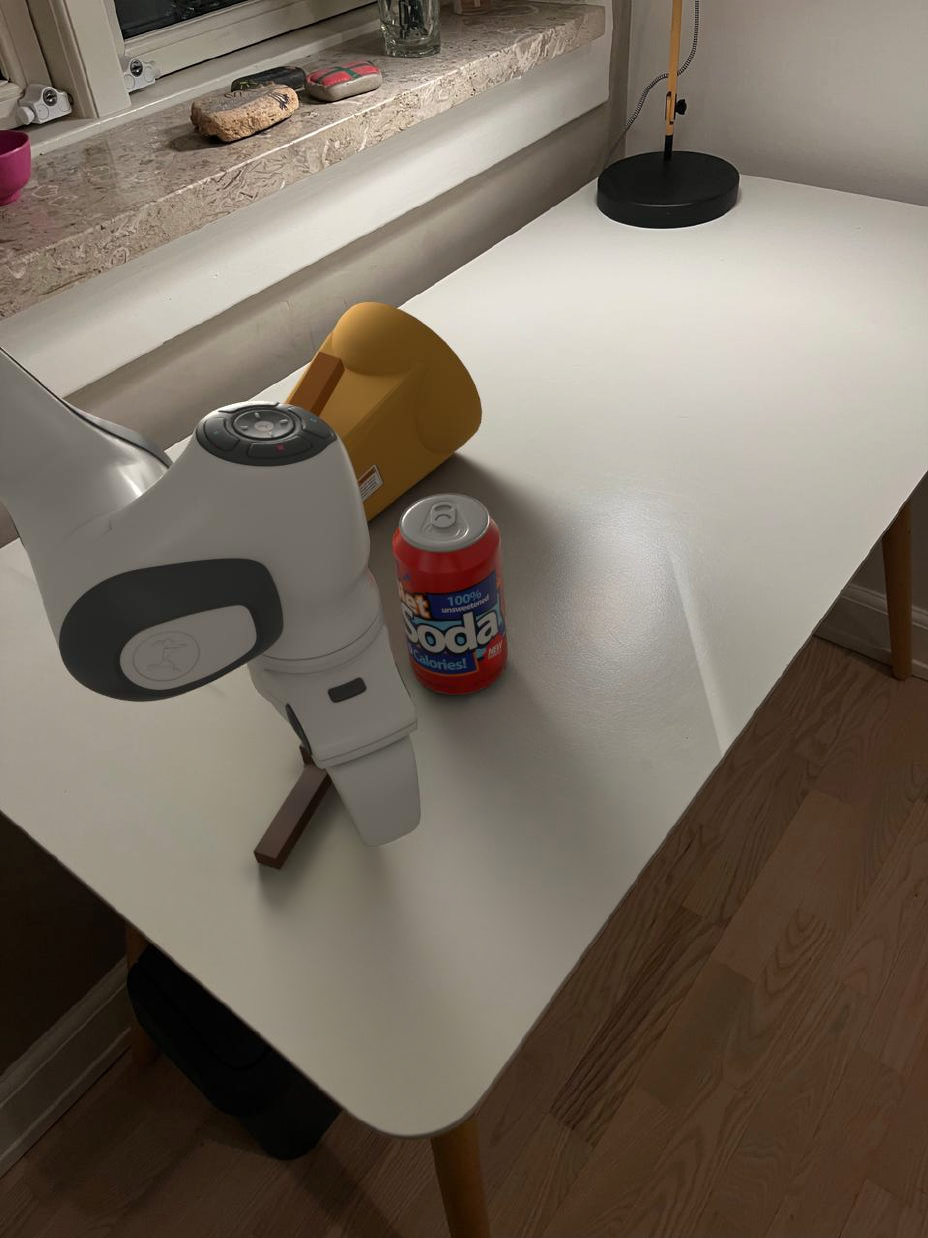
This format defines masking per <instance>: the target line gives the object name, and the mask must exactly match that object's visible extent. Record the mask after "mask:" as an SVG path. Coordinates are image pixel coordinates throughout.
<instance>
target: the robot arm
mask: <svg viewBox="0 0 928 1238" xmlns="http://www.w3.org/2000/svg"><path fill="white" fill-rule="evenodd" d="M0 501H1V502H2V504H3V505H4V507H5V509H6V511H7V513H8V515H9V517H10V519H11V522H12V524H13V526H14V529H15V531H16V533H17V535H18V537H19V539H20V542H21V545H22V546H23V548H24V550H25V552H26V554H27V557H28V560H29V563H30V566H31V568H32V572H33V576H34V578H35V581H36V584H37V587H38V590H39V594H40V596H41V599H42V605H43V608H44V611H45V614H46V617H47V621H48V623H49V625H50V629H51V631H52V634H53V637H54V639H55V643H56V645H57V648H58V650H59V654H60V655H59V656H60V657H61V660H62V663H63V665H64V667H65V668H66V670H67V671H68V673H69V674H70V675H71V676H72V677H73V679H74V680H75V681H77V682H78V683H79V684H81V685H82V686H83V687H84V688H86V689H88V690H90V691H91V692H93V693H96V694H99V695H101V696H104V697H106V698H107V697H108V698H110V699H114V700H119V701H124V702H125V701H126V702H133V703H134V702H135V703H147V702H157V701H164V700H167V699H173V698H176V697H179V696H182V695H185V694H188V693H190V692H192V691H195V690H197V689H200V688H202V687H204V686H206V685H208V684H211V683H213V682H215V681H216V680H219V679H221V678H223V677H224V676H226V675H229V674H230V673H231V672H233V671H236V669H237V670H238V669H239V668H241V667H242V666H244V665H247V669H248V672H249V675H250V678H251V681H252V684H253V686H254V688H255V690H256V691H257V692H258V694H259V695H260V696H261V697H262V698H263V699H265V700H266V701H267V702H268V703H270V704H271V705H272V707H273V708H274V709H275V710H276V711H277V713H278V714H279V715H280V716H281V717H282V718H283V719H285V721H286V722H287V723H288V724H289V725H290V726H291V728H292V730H293V732H294V733H295V734H296V735H297V737H298V739H299V740H300V741H301V742H302V743H303V745H304V746H305V748H306V750H307V752H308V754H309V755H311V756H312V758H313V760H314V762H315V764H316V765H317V767H318V768H320V769H326V770H327V772H328V774H329V776H330V777H331V779H332V781H333V782H332V783H333V785H334V787H335V790H336V791H337V793H338V795H339V797H340V799H341V801H342V803H343V805H344V807H345V809H346V811H347V814H348V815H349V818H350V820H351V822H352V825H353V826H354V828H355V830H356V833H357V835H358V836H359V838H360V840H361V841H362V843H363V844H364V845H365V846H366V847H368V848H377V847H381V846H384V845H387V844H389V843H392V842H394V841H396V840H398V839H401V838H403V837H405V836H407V835H408V834H410V833H412V832H413V831H415V829H417V828H418V826H419V825H420V822H421V818H422V816H421V815H422V812H421V795H420V785H419V776H418V775H419V773H418V766H417V760H416V754H415V751H414V747H413V744H412V743H413V742H412V741H411V737H410V734H412V733H413V732H415V731H417V730H418V727H419V722H418V721H419V720H418V715H417V710H416V708H415V704H414V703H413V700H412V698H411V694H410V692H409V690H408V688H407V686H406V683H405V681H404V679H403V677H402V674H401V672H400V669H399V667H398V665H397V662H396V661H395V659H394V656H393V651H392V650H393V649H392V646H391V639H390V633H389V628H388V627H387V625H386V622H385V617H384V611H383V606H382V601H381V595H380V590H379V586H378V584H377V582H376V579H375V577H374V575H373V574H372V572H371V571H370V569H369V559H370V555H371V537H370V532H369V527H368V522H367V520H366V515H365V511H364V506H363V502H362V498H361V494H360V490H359V486H358V482H357V479H356V475H355V472H354V469H353V466H352V463H351V460H350V458H349V455H348V452H347V450H346V448H345V446H344V444H343V442H342V440H341V439H340V437H339V436H338V434H337V433H336V432H335V431H334V430H333V429H332V428H331V427H330V426H329V425H328V424H327V423H326V422H325V421H324V420H322V419H321V418H319V417H318V416H316V415H315V414H313V413H311V412H309V411H307V410H305V409H303V408H301V407H297V406H293V405H289V404H284V402H279V401H276V400H275V401H273V400H250V401H249V400H248V401H242V402H236V403H232V404H229V405H225V406H223V407H219V408H217V409H215V410H213V411H211V412H210V413H208V414H206V415H205V416H204V417H202V418H201V419H200V421H199V422H198V423H197V424H196V426H195V427H194V430H193V432H192V435H191V437H190V439H189V441H188V443H187V444H186V446H185V448H184V449H183V451H182V452H181V453H180V455H178V457H177V458H176V460H175V461H173V459H172V458H171V457H170V456H169V455H168V454H167V452H165V450H163V449H162V448H161V446H159V445H158V444H157V443H155V442H154V441H152V440H151V439H149V438H148V437H146V436H145V435H143V434H141V433H139V432H137V431H134V430H132V429H129V428H128V427H124V426H122V425H120V424H117V423H114V422H111V421H108V420H106V419H103V418H100V417H97V416H95V415H93V414H90V413H88V412H86V411H83V410H81V409H80V408H78V407H76V406H74V405H72V404H71V403H69V402H68V401H66V400H64V398H62V397H60V396H59V395H58V394H57V393H56V392H54V391H53V390H51V388H49V387H48V386H47V385H46V384H45V383H43V381H41V380H40V379H39V378H38V377H37V376H36V375H34V374H33V373H32V372H31V371H29V369H28V368H26V367H25V366H24V365H23V363H22V364H21V363H20V362H19V361H18V360H17V359H16V358H15V357H14V356H12V355H11V354H10V353H9V352H8V350H7V351H6V349H4V348H3V347H2V346H1V345H0ZM301 742H300V743H301Z"/></svg>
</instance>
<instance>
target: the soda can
mask: <svg viewBox="0 0 928 1238" xmlns="http://www.w3.org/2000/svg"><path fill="white" fill-rule="evenodd" d="M398 521H399V522H398V526H397V528H396V530H395V532H394V534H393V536H392V545H391V546H392V554H393V555H392V556H393V561H394V568H395V574H396V581H397V587H398V595H399V600H400V607H401V613H402V620H403V626H404V632H405V639H406V645H407V646H406V647H407V653H408V659H409V664H410V668H411V671H412V673H413V675H414V677H415V678H416V680H417V681H418V682H419V683H420V684H421V685H422V686H424V687H426V688H427V689H429V690H431V691H434V692H436V693H439V694H444V695H452V696H453V695H454V696H459V695H469V694H473V693H475V692H478V691H481V690H483V689H485V688H487V687H489V686H490V685H492V684H493V683H494V682H495V681H497V680H498V679H499V678H500V676H501V675H502V674H503V672H504V671H505V668H506V666H507V664H508V663H507V662H508V636H507V620H506V604H505V588H504V587H505V585H504V570H503V569H504V568H503V567H504V566H503V554H502V553H503V551H502V538H501V532H500V528H499V526H498V524H497V523H496V521H495V520H494V519H493V518H492V517H491V515H490V513H489V510H488V508H487V507H486V506H485V505H484V504H483V502H481V501H479V499H476V498H474V497H472V496H469V495H466V494H462V493H461V494H460V493H453V492H451V493H450V492H449V493H448V492H446V493H436V494H432V495H428V496H425V497H423V498H420V499H418V500H416V501H414V502H413V503H411V504H409V506H407V507H406V508H405V510H404V511H403V512H402V514H401V516H400V518H399V520H398Z"/></svg>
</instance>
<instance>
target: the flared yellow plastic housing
mask: <svg viewBox="0 0 928 1238" xmlns="http://www.w3.org/2000/svg"><path fill="white" fill-rule="evenodd" d="M481 400H482V399H481V398H480V394H479V391H478V388H477V385H476V384H475V381H474V380H473V378H472V376H471V374H470V372H469V370H468V369H467V367H466V366H465V364H464V363H463V362H462V360H461V358H460V357H459V356H458V354H457V353H456V352H455V351H454V350H453V349H452V348H451V346H449V344H448V343H447V342H446V340H444V339H443V338H442V337H441V336H440V335H439V334H438V333H437V332H435V331H434V330H433V329H432V328H431V327H429V326H428V325H426V324H425V323H424V322H423V321H421V320H420V319H418V318H417V317H416V316H413V315H412V314H410V313H408V312H406V311H405V310H403V309H400V308H398V307H395V306H393V305H390V304H387V303H382V302H377V301H363V302H360V303H357V304H353V305H352V306H351V307H350V308H349V309H347V310H346V311H345V313H344V314H343V315H342V316H341V317H340V318H339V320H338V321H337V323H336V325H335V327H334V329H333V330H332V331H331V332H330V333H328V336H327V337H326V338H325V340H324V341H323V343H322V344H321V346H320V347H319V349H318V351H317V352H316V354H315V355H314V357H313V358H312V359H311V361H310V362H309V364H308V365H307V367H306V368H305V370H304V371H303V373H302V374H301V376H300V378H299V379H298V380H297V382H296V384H295V385H294V386H293V388H292V389H291V391H290V393H289V394H288V396H287V397H286V399H285V400H284V401H283V403H284V404H289V405H293V406H297V407H301V408H303V409H305V410H307V411H309V412H311V413H313V414H315V415H316V416H318V417H319V418H321V419H322V420H324V421H325V422H326V423H327V424H328V425H329V426H330V427H331V428H332V429H333V430H334V431H335V432H336V433H337V434H338V436H339V437H340V439H341V440H342V442H343V444H344V446H345V448H346V450H347V452H348V455H349V458H350V460H351V463H352V466H353V469H354V472H355V475H356V479H357V482H358V486H359V490H360V494H361V498H362V502H363V506H364V511H365V515H366V520H367V523H368V522H370V521H371V520H372V519H374V518H375V517H376V516H378V514H380V513H381V512H382V511H383V510H385V509H387V508H388V507H389V506H390V505H391V504H392V503H393V502H395V501H396V500H398V499H399V498H400V497H402V495H403V494H405V493H406V492H407V491H409V490H410V489H412V487H414V486H415V485H416V484H417V483H419V482H420V481H421V480H422V479H425V477H427V476H428V475H429V474H430V473H431V472H432V471H434V470H435V469H436V468H438V467H439V466H440V465H441V464H442V463H444V462H446V460H448V459H449V458H450V457H451V456H452V455H453V454H454V452H457V451H458V450H459V449H460V448H462V447H464V446H465V444H466V443H468V442H469V440H471V438H472V437H474V436H475V435H476V433H478V431H479V429H480V427H481V424H482V420H483V407H482V402H481Z"/></svg>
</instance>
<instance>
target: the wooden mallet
mask: <svg viewBox="0 0 928 1238" xmlns="http://www.w3.org/2000/svg"><path fill="white" fill-rule="evenodd" d="M298 748H299V751H300V756H301V758H302V762H303V764H305V765H306V767H305V768H304V770H303V771H302V773H301V774H300V776H299V777H298V779H297V781H296V782H295V784H294V786H293V787H292V789H291V790H290V792H289V794H288V795H287V797H286V798H285V800H284V801H283V803H282V805H281V806H280V808H279V809H278V811H277V813H276V814H275V815H274V818H273V819H272V821H271V822H270V824H269V825H268V827H267V829H266V830H265V832H264V833H263V835H262V837H261V838H260V840H259V842H258V843H257V844H256V846H255V848H254V850H253V851H252V852H253V855H254V857H255V860H256V863H257V864H260V865H263V866H266V867H269V868H272V869H275V870H278V871H280V870H281V869H282V868H283V866H284V864H285V863H286V861H287V859H288V857H289V855H290V854H291V853H292V851H293V849H294V847H295V846H296V844H297V841H299V839H300V837H301V835H302V834H303V832H304V830H305V828H306V827H307V825H308V824H309V822H310V820H311V818H312V817H313V815H314V813H315V812H316V811H317V808H318V806H320V803H321V802H322V800H323V799H324V797H325V795H326V793H327V792H328V791H329V788H330V787H331V785H332V783H333V781H332V779H331V777H330V776H329V774H328V772H327V770H326V769H320V768H318V767H317V765H316V764H315V762H314V760H313V758H312V756H311V755H309V754H308V752H307V750H306V748H305V746H304V745H303V743H302V742H300V744H299V746H298Z"/></svg>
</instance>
